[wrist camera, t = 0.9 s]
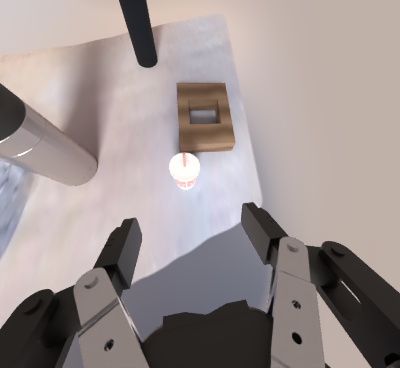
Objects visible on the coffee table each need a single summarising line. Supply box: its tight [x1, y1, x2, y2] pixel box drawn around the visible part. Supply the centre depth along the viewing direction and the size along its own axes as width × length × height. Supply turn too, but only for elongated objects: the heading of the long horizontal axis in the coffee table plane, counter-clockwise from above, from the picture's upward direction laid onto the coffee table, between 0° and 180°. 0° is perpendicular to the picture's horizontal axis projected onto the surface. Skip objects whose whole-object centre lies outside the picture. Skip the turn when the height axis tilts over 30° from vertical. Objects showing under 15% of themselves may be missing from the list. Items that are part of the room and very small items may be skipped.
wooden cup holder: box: [177, 83, 235, 153], centre depth 42 cm, size 20×14×4 cm
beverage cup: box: [169, 152, 200, 189], centre depth 31 cm, size 6×6×14 cm
